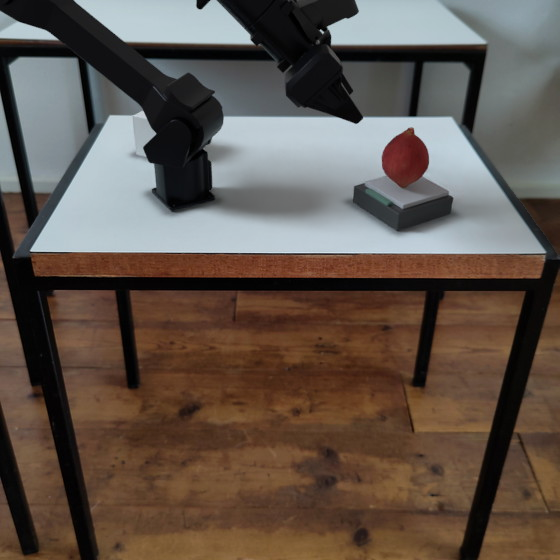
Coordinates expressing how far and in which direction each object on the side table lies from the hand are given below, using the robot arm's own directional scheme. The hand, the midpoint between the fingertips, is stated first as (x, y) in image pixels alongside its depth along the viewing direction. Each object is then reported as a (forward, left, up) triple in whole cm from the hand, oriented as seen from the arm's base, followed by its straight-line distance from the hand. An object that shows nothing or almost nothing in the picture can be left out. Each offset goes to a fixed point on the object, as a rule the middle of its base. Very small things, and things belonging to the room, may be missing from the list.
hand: (355, 106), depth 82 cm
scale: (+6, -3, -14) cm, 15 cm away
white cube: (-13, +29, -14) cm, 34 cm away
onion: (+6, -3, -11) cm, 13 cm away
